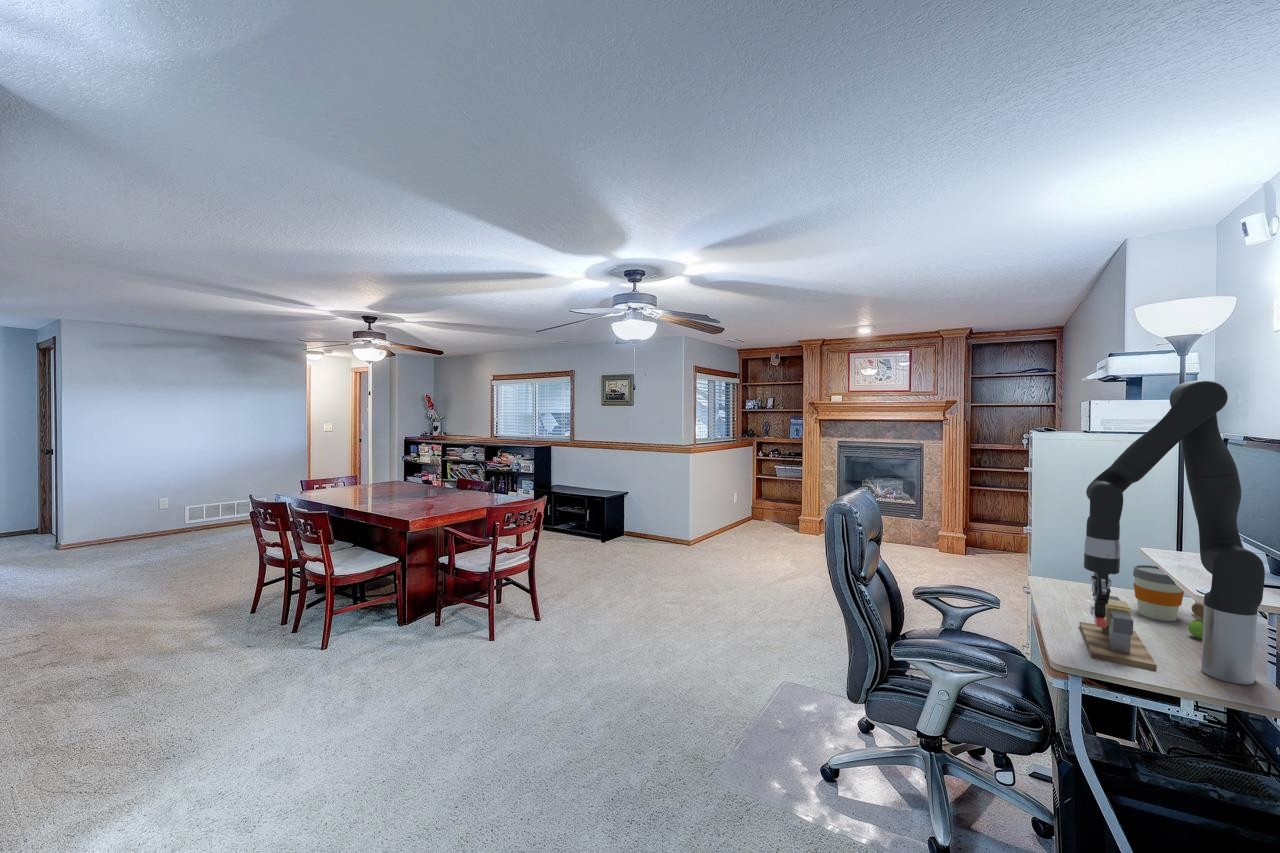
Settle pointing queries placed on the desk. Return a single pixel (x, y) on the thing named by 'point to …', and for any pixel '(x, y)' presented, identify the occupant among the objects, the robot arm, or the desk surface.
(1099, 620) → the valve lever
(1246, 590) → the robot arm
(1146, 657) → the base board
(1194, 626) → the snail figurine
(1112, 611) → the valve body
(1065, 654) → the desk surface
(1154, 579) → the reusable coffee cup
